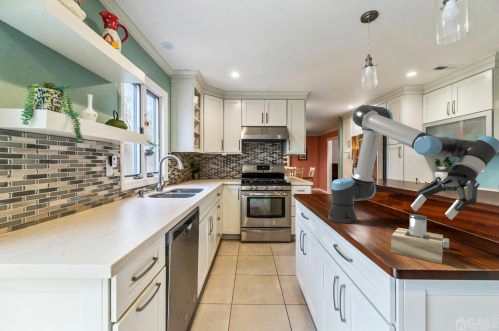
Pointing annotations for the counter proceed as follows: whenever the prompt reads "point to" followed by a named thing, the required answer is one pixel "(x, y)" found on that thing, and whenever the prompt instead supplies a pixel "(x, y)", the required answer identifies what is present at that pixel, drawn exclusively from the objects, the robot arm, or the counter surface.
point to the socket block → (417, 245)
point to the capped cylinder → (417, 226)
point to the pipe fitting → (446, 243)
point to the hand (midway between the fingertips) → (429, 212)
